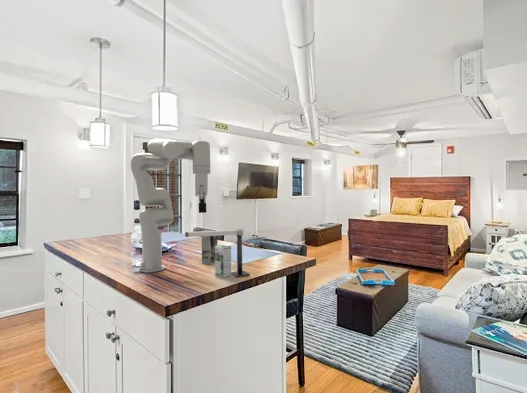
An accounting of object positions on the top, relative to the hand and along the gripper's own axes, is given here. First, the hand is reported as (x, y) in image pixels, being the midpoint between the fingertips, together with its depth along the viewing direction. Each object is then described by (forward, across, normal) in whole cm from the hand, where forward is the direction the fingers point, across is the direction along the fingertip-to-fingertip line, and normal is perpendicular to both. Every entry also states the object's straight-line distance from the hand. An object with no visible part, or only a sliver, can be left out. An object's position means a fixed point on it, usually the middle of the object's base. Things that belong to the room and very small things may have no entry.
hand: (202, 212), depth 137 cm
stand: (+31, -11, +16) cm, 37 cm away
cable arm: (+12, -11, +5) cm, 17 cm away
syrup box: (+32, -11, +9) cm, 34 cm away
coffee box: (+31, -40, +2) cm, 51 cm away
